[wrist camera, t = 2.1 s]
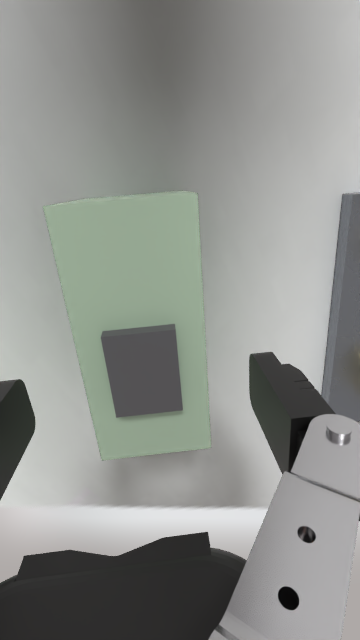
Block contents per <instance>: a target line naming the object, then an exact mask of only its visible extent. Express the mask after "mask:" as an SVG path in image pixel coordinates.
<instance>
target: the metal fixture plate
mask: <svg viewBox="0 0 360 640" xmlns="http://www.w3.org/2000/svg"><path fill="white" fill-rule="evenodd" d="M322 397H323V399H324V400H325V401H326V402H327V404H328V405H329V406H330V407H331V408H332V410H333V411H334V412H335V413H336V415H341V416H345V417H348V418H350V419H353V420H354V421H356V422H357V421H360V192H359V193H348V194H343V198H342V207H341V217H340V226H339V236H338V245H337V255H336V264H335V274H334V283H333V293H332V302H331V312H330V321H329V330H328V340H327V349H326V359H325V368H324V378H323V387H322Z"/></svg>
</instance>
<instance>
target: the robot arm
mask: <svg viewBox="0 0 360 640" xmlns="http://www.w3.org/2000/svg"><path fill="white" fill-rule="evenodd" d="M249 390H250V400H251V404H252V408H253V410H254V412H255V415H256V417H257V419H258V421H259V423H260V426H261V428H262V430H263V432H264V434H265V437H266V439H267V441H268V443H269V446H270V448H271V450H272V452H273V454H274V457H275V459H276V461H277V463H278V466H279V468H280V470H281V472H282V474H283V475H282V477H281V480H280V482H279V485H278V487H277V489H276V492H275V494H274V497H273V499H272V501H271V504H270V506H269V509H268V511H267V513H266V516H265V518H264V521H263V523H262V526H261V528H260V530H259V533H258V535H257V537H256V540H255V542H254V545H253V547H252V549H251V552H250V554H249V557H248V559H247V560H245V559H243V558H241V557H239V556H237V555H235V554H233V553H230V552H227V551H224V550H220V549H215V548H210V543H209V536H208V532H204V533H196V534H188V535H180V536H173V537H165V538H161V539H159V540H156V541H154V542H152V543H149V544H147V545H144V546H142V547H139V548H137V549H134V550H132V551H129V552H127V553H124V554H122V555H119V556H106V555H100V554H93V553H86V552H80V551H73V550H65V551H58V552H50V553H43V554H35V555H27V556H24V558H23V561H22V564H21V566H20V569H19V572H18V575H15V576H13V577H11V578H9V579H7V580H5V581H3V582H1V583H0V640H341V637H342V630H343V623H344V617H345V610H346V603H347V596H348V590H349V583H350V576H351V569H352V562H353V555H354V549H355V542H356V535H357V528H358V521H360V424H359V423H358V422H356V421H354V420H353V419H350V418H348V417H345V416H341V415H336V413H335V412H334V411H333V410H332V408H331V407H330V406H329V405H328V404H327V402H326V401H325V400H324V399H323V397H322V396H321V395H320V394H319V392H318V391H317V390H316V389H314V386H313V385H312V384H311V383H310V382H308V379H307V378H306V376H305V375H304V374H303V373H302V372H301V371H300V370H299V369H297V368H295V367H293V366H292V365H290V364H283V365H281V363H280V362H279V360H278V359H277V358H276V356H275V355H274V354H273V352H265V353H256V354H251V355H250V359H249ZM34 430H35V416H34V412H33V409H32V406H31V403H30V399H29V396H28V393H27V390H26V387H25V384H24V382H23V381H22V380H20V379H18V380H9V381H0V500H1V498H2V496H3V494H4V492H5V490H6V488H7V486H8V484H9V482H10V480H11V478H12V476H13V474H14V472H15V470H16V468H17V466H18V464H19V462H20V460H21V458H22V456H23V454H24V452H25V450H26V448H27V446H28V444H29V442H30V440H31V438H32V436H33V434H34Z"/></svg>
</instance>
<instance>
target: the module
mask: <svg viewBox="0 0 360 640" xmlns="http://www.w3.org/2000/svg"><path fill="white" fill-rule="evenodd" d="M43 209H44V214H45V218H46V222H47V227H48V231H49V235H50V240H51V244H52V248H53V252H54V257H55V261H56V265H57V270H58V274H59V278H60V283H61V287H62V291H63V296H64V300H65V304H66V308H67V313H68V317H69V321H70V326H71V330H72V334H73V339H74V343H75V347H76V352H77V356H78V360H79V364H80V369H81V373H82V377H83V382H84V386H85V390H86V395H87V399H88V403H89V408H90V412H91V416H92V420H93V425H94V429H95V433H96V438H97V442H98V446H99V451H100V455H101V459H102V461H104V460H112V459H121V458H130V457H138V456H147V455H156V454H164V453H173V452H182V451H190V450H199V449H208V448H211V434H210V415H209V396H208V378H207V359H206V340H205V322H204V303H203V284H202V265H201V247H200V228H199V209H198V193H195V192H189V191H183V190H182V191H170V192H159V193H147V194H135V195H124V196H112V197H101V198H89V199H81V200H75V201H70V202H64V203H59V204H53V205H48V206H43Z"/></svg>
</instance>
